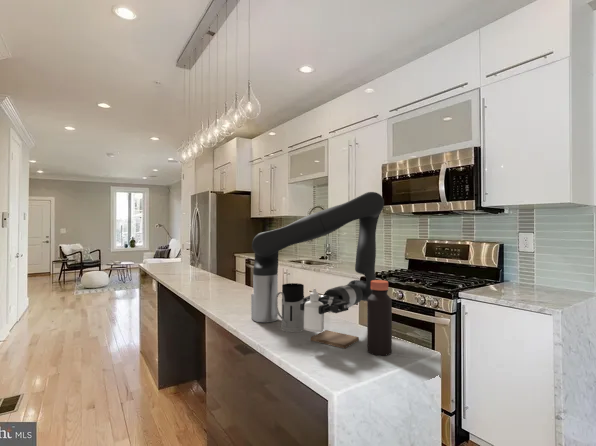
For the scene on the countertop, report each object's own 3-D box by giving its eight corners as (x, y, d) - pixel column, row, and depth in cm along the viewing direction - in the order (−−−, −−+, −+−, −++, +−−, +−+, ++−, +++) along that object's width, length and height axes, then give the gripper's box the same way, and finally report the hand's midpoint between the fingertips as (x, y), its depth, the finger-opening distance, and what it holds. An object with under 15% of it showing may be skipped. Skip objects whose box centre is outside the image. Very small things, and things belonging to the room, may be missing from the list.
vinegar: (362, 352, 97) (362, 281, 97) (375, 345, 102) (375, 278, 102) (384, 358, 93) (384, 284, 93) (396, 351, 98) (396, 281, 98)
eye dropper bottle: (315, 334, 95) (316, 291, 94) (301, 329, 99) (302, 287, 99) (326, 330, 98) (326, 289, 97) (312, 325, 102) (313, 285, 102)
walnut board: (310, 340, 107) (310, 337, 107) (326, 333, 114) (326, 330, 114) (344, 348, 100) (344, 345, 100) (358, 340, 107) (358, 337, 107)
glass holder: (310, 327, 121) (310, 284, 121) (286, 338, 109) (286, 291, 109) (289, 323, 126) (289, 282, 126) (265, 333, 114) (265, 288, 114)
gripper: (321, 284, 114) (290, 291, 101) (360, 289, 106) (332, 299, 92) (321, 306, 114) (289, 317, 101) (360, 313, 106) (332, 326, 92)
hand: (310, 308), depth 97 cm, fingers closed on eye dropper bottle, 5 cm apart
